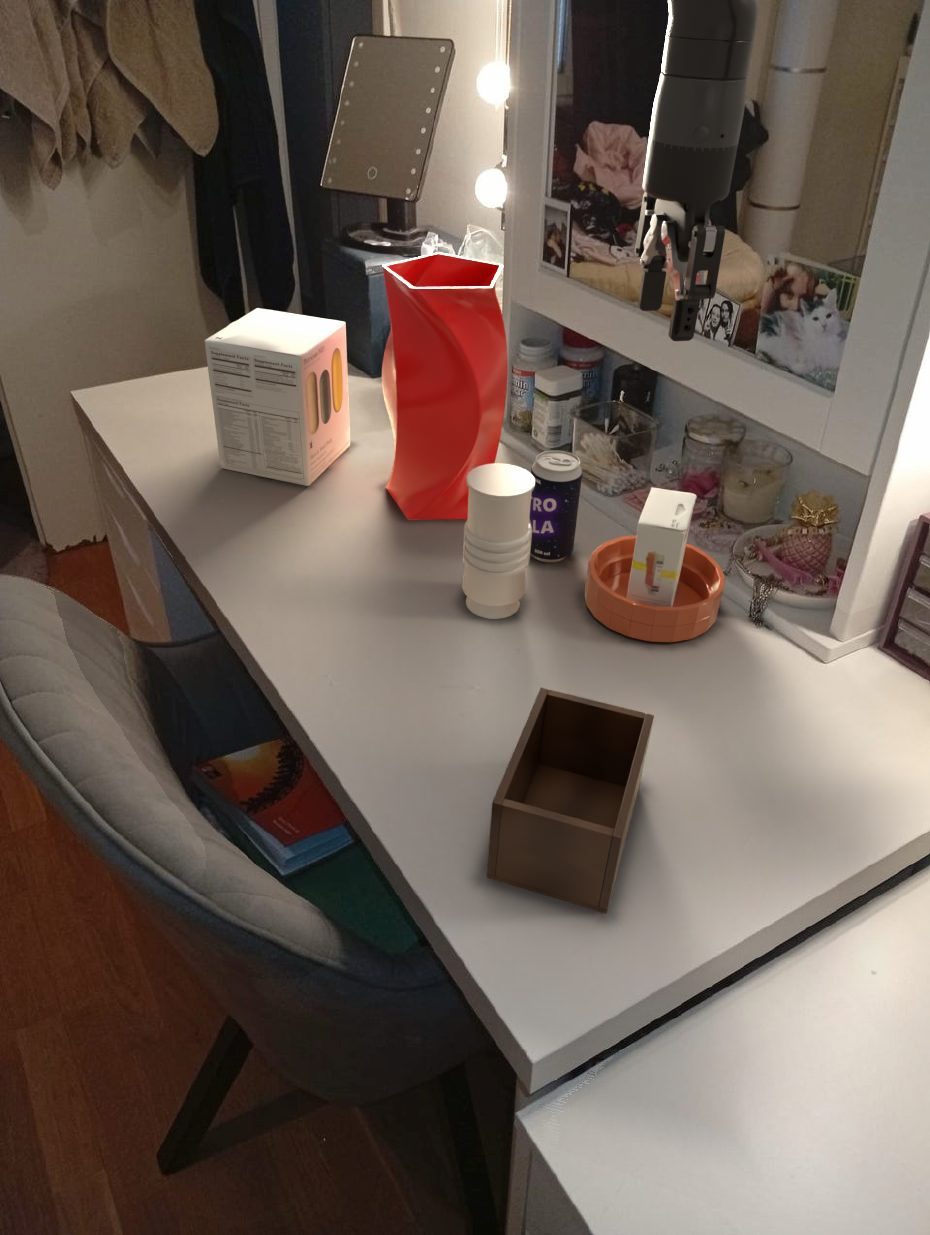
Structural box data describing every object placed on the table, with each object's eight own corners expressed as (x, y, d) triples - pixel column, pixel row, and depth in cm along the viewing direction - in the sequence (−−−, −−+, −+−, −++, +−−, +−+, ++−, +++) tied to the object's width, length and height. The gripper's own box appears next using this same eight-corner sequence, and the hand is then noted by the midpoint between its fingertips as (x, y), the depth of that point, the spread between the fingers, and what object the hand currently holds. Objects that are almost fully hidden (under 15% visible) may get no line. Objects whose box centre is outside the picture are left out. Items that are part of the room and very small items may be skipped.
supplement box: (309, 488, 119) (300, 356, 109) (219, 469, 122) (201, 339, 112) (352, 445, 129) (348, 320, 119) (267, 429, 132) (256, 306, 122)
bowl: (723, 584, 105) (731, 550, 102) (707, 658, 94) (716, 622, 91) (599, 558, 108) (604, 525, 106) (571, 627, 97) (575, 591, 95)
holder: (638, 788, 79) (654, 714, 74) (606, 914, 69) (622, 838, 64) (532, 760, 82) (540, 687, 77) (486, 878, 71) (492, 802, 66)
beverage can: (526, 537, 111) (534, 446, 104) (573, 542, 111) (584, 451, 104) (521, 563, 107) (529, 469, 100) (571, 568, 106) (583, 474, 99)
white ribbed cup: (531, 619, 98) (543, 494, 89) (466, 624, 97) (472, 498, 88) (517, 583, 104) (528, 461, 95) (456, 587, 103) (460, 464, 94)
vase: (467, 535, 111) (476, 299, 95) (358, 509, 115) (349, 279, 99) (507, 480, 123) (523, 261, 106) (407, 458, 127) (407, 244, 110)
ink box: (634, 576, 105) (651, 483, 98) (678, 585, 104) (698, 491, 97) (620, 618, 98) (637, 522, 91) (667, 629, 97) (687, 532, 90)
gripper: (771, 151, 74) (730, 349, 84) (703, 121, 86) (674, 299, 95) (683, 151, 73) (651, 352, 83) (625, 121, 84) (603, 301, 94)
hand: (663, 324), depth 89 cm, fingers open, 8 cm apart
